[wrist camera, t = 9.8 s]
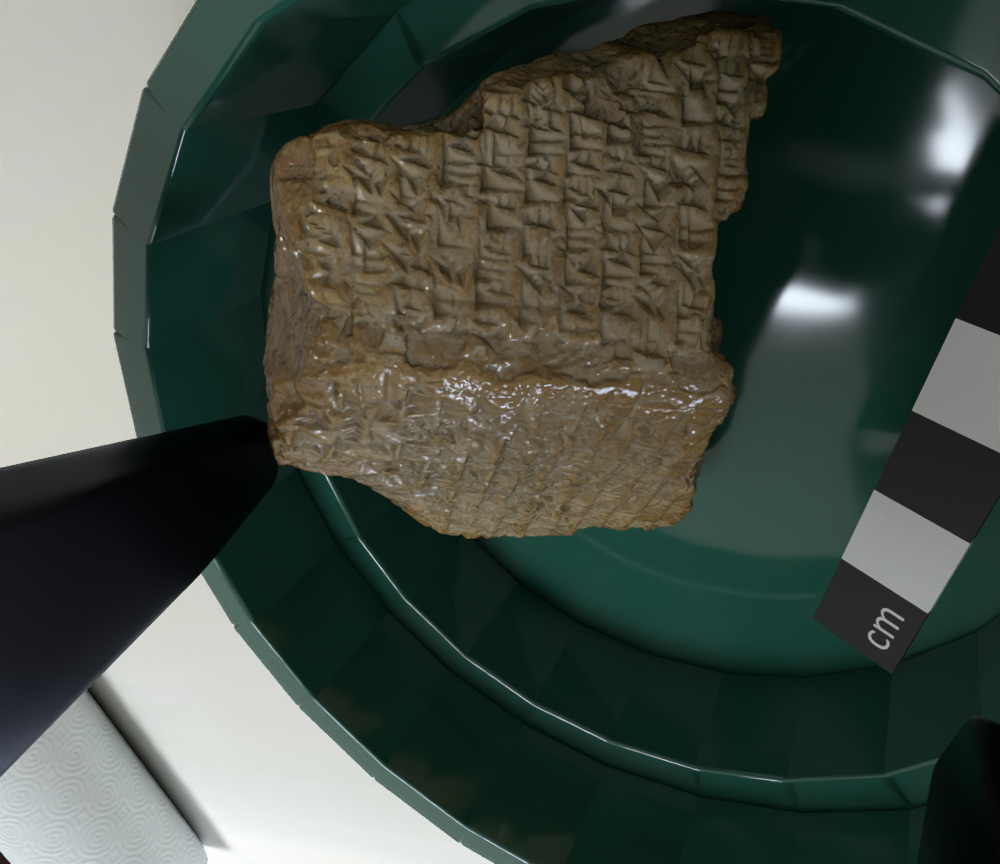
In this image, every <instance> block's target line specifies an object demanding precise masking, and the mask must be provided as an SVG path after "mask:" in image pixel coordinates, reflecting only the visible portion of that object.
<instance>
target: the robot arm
mask: <svg viewBox="0 0 1000 864" xmlns="http://www.w3.org/2000/svg"><path fill="white" fill-rule="evenodd" d="M277 473H278V464H277V461H276V459H275V458H274V454H273V451H272V449H271V445H270V440H269V436H268V423H266V422H264V421H261V420H259V419H257V418H254V417H252V416H248V415H242V416H237V417H232V418H227V419H223V420H218V421H214V422H209V423H204V424H200V425H195V426H191V427H186V428H181V429H177V430H172V431H168V432H163V433H158V434H154V435H149V436H145V437H140V438H136V439H131V440H126V441H122V442H117V443H113V444H108V445H103V446H99V447H94V448H90V449H85V450H80V451H76V452H71V453H67V454H62V455H57V456H53V457H48V458H44V459H39V460H34V461H30V462H25V463H21V464H16V465H11V466H7V467H2V468H0V777H1V776H2V775H3V774H4V773H5V772H6V771H7V770H8V769H9V768H10V767H11V766H12V765H13V764H14V763H15V762H16V761H17V760H18V759H19V758H20V757H21V756H22V755H23V754H24V753H25V752H26V751H27V750H28V749H29V748H30V747H31V746H32V745H33V744H34V743H35V742H36V741H37V740H38V739H39V738H40V737H41V736H42V735H43V734H44V733H45V732H46V731H47V730H48V729H49V728H50V727H51V725H52V724H53V723H54V722H55V721H56V720H57V719H58V718H59V717H60V716H61V715H62V714H63V713H64V712H65V711H66V710H67V709H68V708H69V707H70V706H71V705H72V704H73V703H74V702H75V701H76V700H77V699H78V698H79V697H80V696H81V695H82V694H83V693H84V692H85V691H86V690H87V689H88V688H89V687H90V686H91V685H92V684H93V683H94V682H95V681H96V680H97V679H98V678H99V677H100V676H101V675H102V674H103V673H104V672H105V671H106V670H107V669H108V668H109V667H110V666H111V664H112V663H113V662H114V661H115V660H116V659H117V658H118V657H119V656H120V655H121V654H122V653H123V652H124V651H125V650H126V649H127V648H128V647H129V646H130V645H131V644H132V643H133V642H134V641H135V640H136V639H137V638H138V637H139V636H140V635H141V634H142V633H143V632H144V631H145V630H146V629H147V628H148V627H149V626H150V625H151V624H152V623H153V622H154V621H155V620H156V619H157V618H158V617H159V616H160V615H161V614H162V613H163V612H164V611H165V610H166V609H167V608H168V607H169V606H170V604H171V603H172V602H173V601H174V600H175V599H176V598H177V597H178V596H179V595H180V594H181V593H182V592H183V591H184V590H185V589H186V588H187V587H188V586H189V585H190V584H191V583H192V582H193V581H194V580H195V579H196V578H197V577H198V576H199V575H200V574H201V573H202V572H203V571H204V570H205V568H206V567H207V566H208V565H209V564H210V563H211V562H212V561H213V559H214V558H215V557H216V556H217V555H218V553H219V552H220V551H221V550H222V549H223V547H224V546H225V545H226V544H227V542H228V541H229V540H230V539H231V537H232V536H233V535H234V534H235V532H236V531H237V530H238V529H239V527H240V526H241V525H242V524H243V522H244V521H245V520H246V519H247V518H248V516H249V515H250V514H251V513H252V511H253V510H254V509H255V508H256V506H257V505H258V504H259V503H260V501H261V500H262V499H263V498H264V496H265V495H266V494H267V493H268V491H269V490H270V489H271V488H272V486H273V484H274V482H275V480H276V477H277ZM917 864H1000V724H999V723H997V722H994V721H992V720H990V719H987V718H985V717H982V716H973V717H972V718H970V719H969V720H967V722H966V723H965V724H964V725H963V727H962V728H961V729H960V731H959V732H958V733H957V735H956V736H955V737H954V739H953V740H952V741H951V743H950V744H949V745H948V747H947V748H946V749H945V751H944V752H943V753H942V755H941V756H940V758H939V759H938V761H937V763H936V765H935V767H934V770H933V773H932V777H931V782H930V787H929V794H928V800H927V806H926V812H925V818H924V824H923V830H922V836H921V842H920V848H919V854H918V861H917Z"/></svg>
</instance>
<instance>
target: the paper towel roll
mask: <svg viewBox="0 0 1000 864" xmlns="http://www.w3.org/2000/svg"><path fill="white" fill-rule="evenodd" d="M0 852H1V853H2V854H3V855H4V856H5V857H6V858H7V860H8V861H9V862H10V863H11V864H207V860H208V858H207V854H206V852H205V849H204V847H203V844H202V842H201V841H200V840H199V838H198V837H197V836H196V834H195V833H194V832H193V830H192V829H191V828H190V826H189V825H188V824H187V822H186V821H185V820H184V818H183V817H182V816H181V814H180V813H179V812H178V810H177V809H176V808H175V806H174V805H173V804H172V802H171V801H170V800H169V798H168V797H167V796H166V794H165V793H164V792H163V790H162V789H161V788H160V786H159V785H158V784H157V782H156V781H155V780H154V778H153V777H152V776H151V774H150V773H149V771H148V770H147V769H146V767H145V766H144V765H143V763H142V762H141V761H140V759H139V758H138V757H137V755H136V754H135V753H134V751H133V750H132V749H131V747H130V746H129V745H128V743H127V742H126V741H125V739H124V738H123V737H122V735H121V734H120V733H119V731H118V730H117V729H116V727H115V726H114V725H113V723H112V722H111V721H110V719H109V718H108V717H107V715H106V714H105V713H104V711H103V710H102V709H101V707H100V706H99V705H98V703H97V702H96V701H95V699H94V698H93V697H92V695H91V694H90V693H89V691H88V690H86V691H85V692H84V693H83V694H82V695H81V696H80V697H79V698H78V699H77V700H76V701H75V702H74V703H73V704H72V705H71V706H70V707H69V708H68V709H67V710H66V711H65V712H64V713H63V714H62V715H61V716H60V717H59V718H58V719H57V720H56V721H55V722H54V723H53V724H52V725H51V727H50V728H49V729H48V730H47V731H46V732H45V733H44V734H43V735H42V736H41V737H40V738H39V739H38V740H37V741H36V742H35V743H34V744H33V745H32V746H31V747H30V748H29V749H28V750H27V751H26V752H25V753H24V754H23V755H22V756H21V757H20V758H19V759H18V760H17V761H16V762H15V763H14V764H13V765H12V766H11V767H10V768H9V769H8V770H7V771H6V772H5V773H4V774H3V775H2V776H1V777H0Z"/></svg>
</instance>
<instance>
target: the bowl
mask: <svg viewBox="0 0 1000 864" xmlns="http://www.w3.org/2000/svg"><path fill="white" fill-rule="evenodd" d="M716 10H721V11H725V12H729V13H730V12H734V11H735V12H741V13H742V14H752V15H755V14H760V15H762V16H765V17H767V18H769V19H770V20H771V22H772V24H773V28H774V29H776V28H777V29H780V31H781V33H782V55H781V62H780V66H779V69H778V70H777V71H776V72H775V73H774V74H773V75H772V76H771V77H769V78H768V79H766V85H767V107H766V110H765V112H764V114H763V117H761V118H759V119H756V120H752V121H750V125H749V135H748V137H749V141H748V144H747V151H746V155H747V159H746V167H747V170H748V180H749V182H748V188H747V191H746V192H745V201H744V204H743V206H742V208H741V209H740V210H739V211H737V212H736V213H734V214H730V215H729V217H728V218H727V220H723V221H721V222H719V225H718V230H717V246H716V247H717V248H716V256H715V259H714V261H713V267H712V273H713V279H714V280H715V301H714V312H715V313H716V314H718V315H719V316H720V320H721V321H722V330H723V338H722V341H721V345H720V349H719V353H721V354H723V355H724V356H725V357H726V359H727V360H728V362H729V363H730V364H731V366H732V367H733V369H734V375H733V378H732V381H733V384H734V385H735V386H736V396H735V399H734V403H733V404H732V405H730V408H729V411H728V414H727V417H725V418H724V420H723V421H724V422H723V423H722V424H719V425H718V426H717V427H716V428H715V430H714V431H713V432H712V434H711V436H710V439H709V443H708V445H707V447H706V451H705V453H704V459H703V463H702V467H701V469H700V475H699V476H698V477H697V484H696V486H697V488H696V490H697V491H696V494H695V495H694V496H692V502H693V507H692V510H691V512H690V513H689V514H688V515H686V516H685V517H684V518H682V519H681V520H680V521H679V522H678V523H676V524H674V525H673V526H671V527H669V526H668V527H666V526H660V527H657V528H656V529H655V530H647V531H645V530H644V529H643V528H633V527H631V528H629V529H627V530H625V531H620V530H616V529H606V528H604V527H602V528H597V527H596V526H590V527H588V528H584V529H581V528H579V529H578V530H576V533H575V534H574V535H573V536H568V535H563V536H556V535H554V536H536V537H532V536H525V537H522V538H515V537H514V536H511V537H508V536H506V535H502V536H500V537H491V538H484V537H482V536H480V537H478V538H474V539H467V538H465V537H464V536H462V535H461V534H460V535H458V536H456V535H454V536H453V535H444V534H440V533H438V532H436V531H435V530H434V529H432V528H431V527H430V526H429V527H427V526H424V525H422V524H420V523H419V522H417V521H416V520H415V519H413V518H412V517H411V516H410V515H408V514H407V513H406V512H405V511H404V510H403V509H402V508H401V507H399V506H397V505H396V504H394V503H392V502H391V500H390V499H389V498H387V497H385V496H383V495H381V494H379V493H378V492H375V491H373V490H372V489H371V487H369V486H367V485H365V484H362V483H359V482H357V481H356V480H353V479H351V478H343V477H342V476H339V475H334V476H329V475H323V474H321V473H319V472H310V471H306V470H302V469H299V468H298V467H294V466H292V465H288V466H282V465H279V464H278V462H277V464H278V473H277V477H276V480H275V482H274V484H273V486H272V488H271V489H270V490H269V491H268V493H267V494H266V495H265V496H264V498H263V499H262V500H261V501H260V503H259V504H258V505H257V506H256V508H255V509H254V510H253V511H252V513H251V514H250V515H249V516H248V518H247V519H246V520H245V521H244V522H243V524H242V525H241V526H240V527H239V529H238V530H237V531H236V532H235V534H234V535H233V536H232V537H231V539H230V540H229V541H228V542H227V544H226V545H225V546H224V547H223V549H222V550H221V551H220V552H219V553H218V555H217V556H216V557H215V558H214V559H213V561H212V562H211V563H210V564H209V565H208V566H207V567H206V568H205V570H204V571H203V572H202V573H201V574H202V576H203V577H204V579H205V580H206V582H207V584H208V585H209V587H210V589H211V590H212V592H213V594H214V595H215V597H216V598H217V600H218V602H219V603H220V605H221V607H222V608H223V610H224V612H225V613H226V615H227V616H228V618H229V620H230V621H231V623H232V624H234V625H235V626H234V628H235V630H236V631H237V632H238V633H239V635H240V636H241V637H242V638H243V639H244V641H245V642H246V643H247V644H248V646H249V647H250V648H251V649H252V651H253V652H254V653H255V654H256V655H257V657H258V658H259V659H260V660H261V662H262V663H263V664H264V665H265V666H266V668H267V669H268V670H269V671H270V673H271V674H272V675H273V676H274V678H275V679H276V680H277V681H278V682H279V684H280V685H281V686H282V687H283V689H284V690H285V691H286V692H287V693H288V695H289V696H290V697H291V698H292V700H293V701H294V702H295V703H296V704H297V705H300V706H299V707H300V709H301V710H302V711H303V712H304V713H305V714H307V715H308V716H309V717H310V718H311V719H312V720H313V721H314V722H315V723H316V724H317V725H318V726H319V727H320V728H321V729H322V730H323V731H324V732H325V733H326V734H327V735H328V736H329V737H331V738H332V739H333V740H334V741H335V742H336V743H337V744H338V745H339V746H340V747H341V748H342V749H343V750H344V751H345V752H346V753H347V754H348V755H349V756H350V757H351V758H352V759H354V760H355V761H356V762H357V763H358V764H359V765H360V766H361V767H362V768H363V769H364V770H365V771H366V772H367V773H368V774H369V775H370V776H371V777H375V780H376V781H377V782H379V783H380V784H381V785H383V786H384V787H385V788H387V789H388V790H389V791H391V792H392V793H393V794H395V795H396V796H397V797H398V798H400V799H401V800H402V801H404V802H405V803H406V804H408V805H409V806H410V807H412V808H413V809H414V810H416V811H417V812H418V813H420V814H421V815H422V816H424V817H425V818H426V819H428V820H429V821H430V822H432V823H433V824H434V825H436V826H437V827H438V828H440V829H441V830H442V831H444V832H445V833H446V834H448V835H449V836H450V837H452V838H453V839H454V840H456V841H457V842H461V843H462V844H463V845H464V846H465V847H467V848H469V849H470V850H472V851H474V852H476V853H477V854H479V855H481V856H482V857H484V858H486V859H488V860H489V861H491V862H493V863H494V864H917V861H918V854H919V848H920V842H921V836H922V830H923V824H924V818H925V812H926V806H927V800H928V794H929V787H930V782H931V777H932V773H933V770H934V767H935V765H936V763H937V761H938V759H939V758H940V756H941V755H942V753H943V752H944V751H945V749H946V748H947V747H948V745H949V744H950V743H951V741H952V740H953V739H954V737H955V736H956V735H957V733H958V732H959V731H960V729H961V728H962V727H963V725H964V724H965V723H966V722H967V720H969V719H970V718H972V717H973V716H982V717H985V718H987V719H990V720H992V721H994V722H997V723H999V724H1000V498H999V499H998V501H997V503H996V504H995V506H994V508H993V509H992V511H991V513H990V514H989V516H988V518H987V519H986V521H985V523H984V524H983V526H982V528H981V529H980V531H979V533H978V534H977V536H976V538H975V539H974V541H973V543H972V544H971V546H970V548H969V549H968V551H967V553H966V554H965V556H964V558H963V559H962V561H961V563H960V564H959V566H958V568H957V569H956V571H955V572H954V574H953V576H952V577H951V579H950V581H949V582H948V584H947V586H946V587H945V589H944V591H943V592H942V594H941V596H940V597H939V599H938V601H937V602H936V604H935V606H934V607H933V609H932V611H931V612H930V614H929V616H928V617H927V619H926V621H925V622H924V624H923V626H922V627H921V629H920V631H919V632H918V634H917V636H916V637H915V639H914V641H913V642H912V644H911V646H910V647H909V649H908V651H907V652H906V654H905V656H904V657H903V659H902V661H901V662H900V664H899V665H898V667H897V669H896V670H895V671H894V672H893V673H892V674H890V673H889V672H888V671H886V670H885V669H883V668H882V667H881V666H879V665H878V664H876V663H875V662H874V661H872V660H871V659H869V658H868V657H867V656H865V655H864V654H862V653H861V652H859V651H858V650H857V649H855V648H854V647H852V646H851V645H850V644H848V643H847V642H845V641H844V640H843V639H841V638H840V637H838V636H837V635H836V634H834V633H833V632H831V631H830V630H828V629H827V628H826V627H824V626H823V625H821V624H820V623H819V622H817V621H816V620H814V619H813V617H814V615H815V613H816V611H817V609H818V606H819V604H820V602H821V600H822V598H823V596H824V594H825V592H826V590H827V588H828V585H829V583H830V581H831V579H832V577H833V575H834V573H835V571H836V569H837V567H838V564H839V562H840V560H841V558H842V556H843V554H844V552H845V550H846V548H847V546H848V543H849V541H850V539H851V537H852V535H853V533H854V531H855V529H856V527H857V525H858V522H859V520H860V518H861V516H862V514H863V512H864V510H865V508H866V506H867V504H868V501H869V499H870V497H871V495H872V493H873V491H874V489H875V487H876V485H877V483H878V480H879V478H880V476H881V474H882V472H883V470H884V468H885V466H886V464H887V461H888V459H889V457H890V455H891V453H892V451H893V449H894V447H895V445H896V443H897V440H898V438H899V436H900V434H901V432H902V430H903V428H904V426H905V424H906V422H907V419H908V417H909V415H910V413H911V411H912V409H913V407H914V405H915V403H916V401H917V398H918V396H919V394H920V392H921V390H922V388H923V386H924V384H925V382H926V380H927V377H928V375H929V373H930V371H931V369H932V367H933V365H934V363H935V361H936V359H937V356H938V354H939V352H940V350H941V348H942V346H943V344H944V342H945V340H946V338H947V335H948V333H949V331H950V329H951V327H952V325H953V323H954V321H955V319H956V317H957V314H958V312H959V310H960V308H961V306H962V304H963V302H964V300H965V298H966V296H967V293H968V291H969V289H970V287H971V285H972V283H973V281H974V279H975V277H976V274H977V272H978V270H979V268H980V266H981V264H982V262H983V260H984V258H985V256H986V253H987V251H988V249H989V247H990V245H991V243H992V241H993V239H994V237H995V235H996V232H997V230H998V228H999V226H1000V0H197V1H196V3H195V4H194V6H193V7H192V9H191V11H190V12H189V14H188V16H187V17H186V19H185V20H184V22H183V24H182V25H181V27H180V29H179V30H178V32H177V34H176V35H175V37H174V38H173V40H172V42H171V43H170V45H169V47H168V48H167V50H166V52H165V53H164V55H163V56H162V58H161V60H160V61H159V63H158V65H157V66H156V68H155V69H154V71H153V73H152V74H151V76H150V78H149V79H148V81H147V87H145V88H144V89H143V91H142V94H141V98H140V102H139V106H138V110H137V114H136V118H135V122H134V126H133V130H132V134H131V138H130V142H129V146H128V150H127V154H126V158H125V162H124V166H123V170H122V174H121V178H120V182H119V186H118V190H117V194H116V198H115V202H114V206H113V212H114V214H115V215H114V216H113V219H112V224H113V315H114V329H115V331H116V332H115V333H114V339H115V343H116V348H117V352H118V356H119V361H120V365H121V370H122V374H123V379H124V383H125V387H126V392H127V396H128V401H129V405H130V410H131V414H132V418H133V423H134V427H135V432H136V436H137V438H140V437H145V436H149V435H154V434H158V433H163V432H168V431H172V430H177V429H181V428H186V427H191V426H195V425H200V424H204V423H209V422H214V421H218V420H223V419H227V418H232V417H237V416H242V415H248V416H252V417H254V418H257V419H259V420H261V421H264V422H266V423H268V413H267V404H268V401H269V399H268V397H267V394H266V377H265V374H264V368H263V357H264V354H265V344H266V325H267V319H268V309H269V302H270V293H271V288H272V286H273V283H274V279H275V272H274V246H275V239H276V232H275V229H274V228H273V221H272V209H271V199H270V171H271V167H272V163H273V160H274V158H275V156H276V154H277V153H278V152H279V150H280V149H282V148H283V146H284V145H285V144H286V143H288V142H289V141H291V140H293V139H295V138H298V137H300V136H308V135H311V134H313V133H316V132H317V131H318V130H320V129H321V128H322V127H324V126H326V125H328V124H332V123H336V122H339V121H343V120H348V119H363V120H364V119H366V120H370V121H374V122H376V123H381V122H386V123H391V124H393V125H395V126H398V127H402V126H406V125H418V124H423V123H425V122H427V121H430V120H431V119H434V120H439V118H440V117H441V116H443V115H451V114H452V112H453V111H454V110H455V109H457V108H459V107H460V106H461V104H462V103H463V102H464V101H465V100H466V99H467V98H468V97H469V96H470V95H471V94H472V93H474V92H475V91H476V90H477V89H478V87H479V86H480V84H481V82H482V81H484V80H485V79H486V78H488V77H490V76H491V75H492V74H494V73H496V72H500V71H504V70H507V69H509V68H511V67H514V66H517V65H521V64H528V63H531V62H533V61H534V60H535V59H537V58H540V57H544V56H546V55H548V54H550V53H553V52H556V51H561V52H563V53H565V54H568V53H572V52H581V51H585V50H590V49H592V48H593V47H595V46H597V45H598V44H600V43H602V42H607V41H612V40H615V39H618V38H623V37H624V36H625V34H626V33H628V32H629V31H630V30H632V29H634V28H636V27H637V26H640V25H643V24H647V23H653V22H663V21H670V20H674V19H677V18H679V17H682V16H686V15H694V14H695V15H697V14H699V13H704V12H709V11H716Z"/></svg>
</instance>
